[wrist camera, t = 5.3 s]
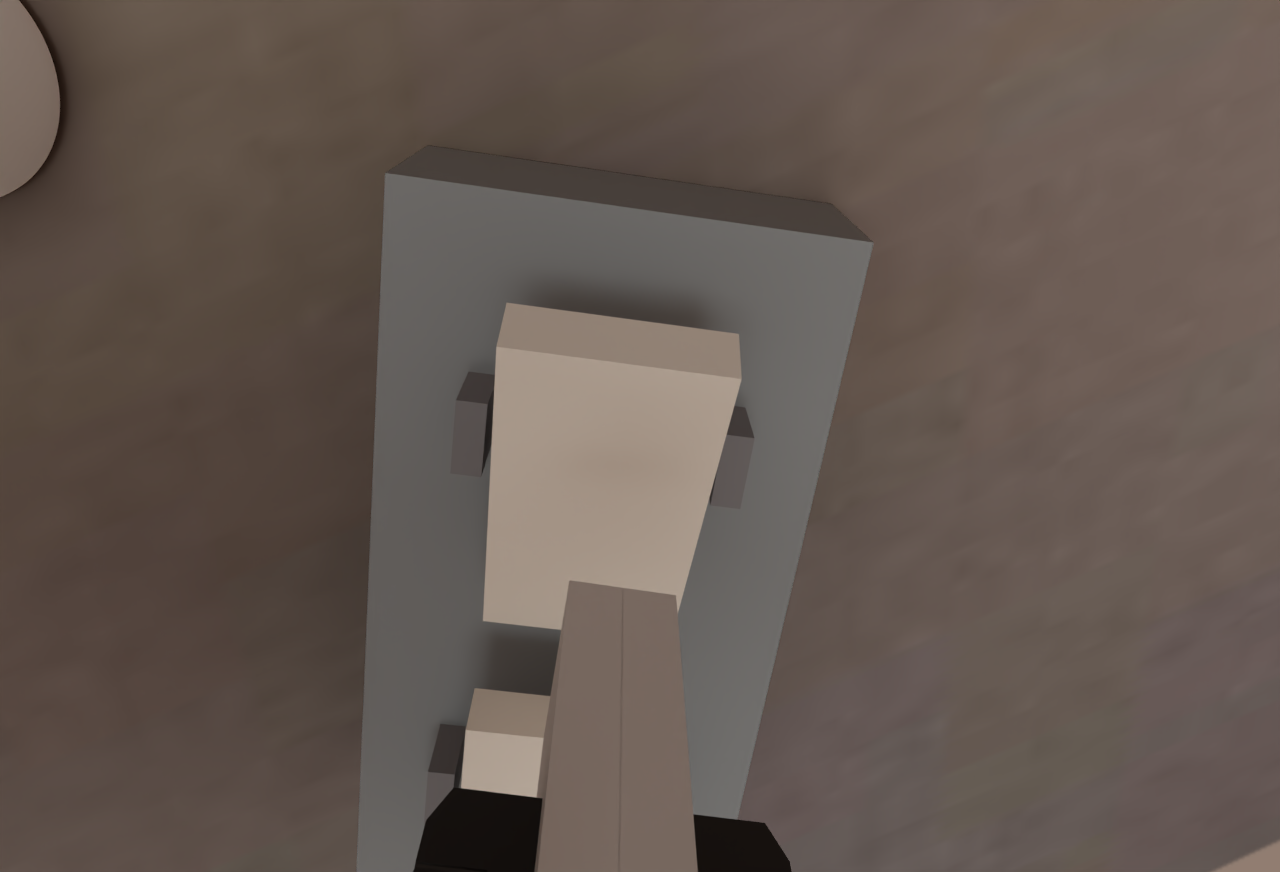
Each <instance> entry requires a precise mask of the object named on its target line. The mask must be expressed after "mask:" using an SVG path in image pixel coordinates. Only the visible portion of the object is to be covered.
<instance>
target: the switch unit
mask: <svg viewBox="0 0 1280 872" xmlns="http://www.w3.org/2000/svg"><path fill="white" fill-rule="evenodd" d="M873 243H874V242H873V241H871V240H870V239H869V238H868V237H867V236H866V235H865V234H864V233H863V232H862V231H861V230H859V229H858V228H857V227H856V226H855V225H854V224H853V223H852V222H851V221H850V220H849V219H847V218H846V217H845V216H844V215H843V214H842V213H841V212H840V211H839V210H838V209H837V208H835V207H834V206H833V205H832V204H828V203H822V202H815V201H808V200H801V199H794V198H787V197H780V196H773V195H766V194H759V193H752V192H746V191H739V190H732V189H725V188H718V187H711V186H704V185H697V184H690V183H683V182H677V181H670V180H663V179H656V178H649V177H642V176H635V175H628V174H621V173H614V172H607V171H601V170H594V169H587V168H580V167H573V166H566V165H559V164H552V163H545V162H538V161H532V160H525V159H518V158H511V157H504V156H497V155H490V154H483V153H476V152H469V151H463V150H456V149H449V148H442V147H435V146H426V147H424V148H423V149H421V150H420V151H418V152H417V153H415V154H414V155H412V156H411V157H409V158H407V159H406V160H404V161H403V162H401V163H400V164H398V165H397V166H395V167H394V168H392V169H390V170H389V171H387V172H386V173H385V189H384V213H383V237H382V262H381V286H380V310H379V335H378V359H377V383H376V408H375V432H374V456H373V481H372V505H371V529H370V554H369V578H368V602H367V626H366V651H365V675H364V699H363V724H362V748H361V772H360V797H359V821H358V845H357V870H356V872H413V870H414V867H415V862H416V858H417V854H418V850H419V846H420V842H421V838H422V834H423V830H424V826H425V822H426V820H427V818H428V817H429V816H430V815H431V814H432V812H433V811H434V810H435V809H436V808H437V807H438V805H439V804H440V803H441V802H442V801H443V799H444V798H445V797H446V796H447V795H448V794H449V792H450V791H451V790H452V789H453V788H454V787H455V788H461V781H462V769H463V757H464V745H465V733H466V726H467V722H468V717H469V712H470V708H471V703H472V698H473V694H474V689H475V688H479V689H488V690H498V691H507V692H516V693H525V694H534V695H544V696H550V695H551V689H552V683H553V677H554V671H555V665H556V659H557V653H558V647H559V641H560V634H561V630H558V629H549V628H540V627H531V626H522V625H514V624H505V623H496V622H487V621H483V608H484V588H485V568H486V547H487V527H488V506H489V486H490V466H491V445H492V425H493V405H494V384H495V364H496V346H497V342H498V338H499V333H500V329H501V325H502V320H503V316H504V312H505V308H506V303H513V304H521V305H528V306H536V307H543V308H550V309H558V310H565V311H573V312H580V313H587V314H595V315H602V316H610V317H617V318H625V319H632V320H639V321H647V322H654V323H662V324H669V325H676V326H684V327H691V328H699V329H706V330H713V331H721V332H728V333H736V334H739V343H740V359H741V376H742V380H741V383H740V387H739V391H738V394H737V398H736V402H735V405H734V409H733V413H732V416H731V420H730V424H729V427H728V431H727V435H726V438H725V442H724V446H723V450H722V453H721V457H720V461H719V464H718V468H717V472H716V475H715V479H714V483H713V486H712V490H711V494H710V497H709V501H708V505H707V508H706V512H705V516H704V519H703V523H702V527H701V530H700V534H699V538H698V541H697V545H696V549H695V552H694V556H693V560H692V563H691V567H690V571H689V574H688V578H687V582H686V585H685V589H684V593H683V596H682V600H681V604H680V607H679V611H678V625H679V638H680V651H681V664H682V676H683V689H684V702H685V715H686V728H687V740H688V753H689V766H690V779H691V792H692V804H693V814H696V815H704V816H712V817H720V818H728V819H736V820H737V818H738V814H739V810H740V805H741V801H742V797H743V793H744V789H745V784H746V780H747V776H748V772H749V767H750V763H751V759H752V755H753V750H754V746H755V742H756V738H757V734H758V729H759V725H760V721H761V717H762V712H763V708H764V704H765V700H766V696H767V691H768V687H769V683H770V679H771V674H772V670H773V666H774V662H775V658H776V653H777V649H778V645H779V641H780V636H781V632H782V628H783V624H784V620H785V615H786V611H787V607H788V603H789V598H790V594H791V590H792V586H793V581H794V577H795V573H796V569H797V565H798V560H799V556H800V552H801V548H802V543H803V539H804V535H805V531H806V527H807V522H808V518H809V514H810V510H811V505H812V501H813V497H814V493H815V489H816V484H817V480H818V476H819V472H820V467H821V463H822V459H823V455H824V451H825V446H826V442H827V438H828V434H829V429H830V425H831V421H832V417H833V412H834V408H835V404H836V400H837V396H838V391H839V387H840V383H841V379H842V374H843V370H844V366H845V362H846V358H847V353H848V349H849V345H850V341H851V336H852V332H853V328H854V324H855V320H856V315H857V311H858V307H859V303H860V298H861V294H862V290H863V286H864V282H865V277H866V273H867V269H868V265H869V260H870V256H871V252H872V248H873Z"/></svg>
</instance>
